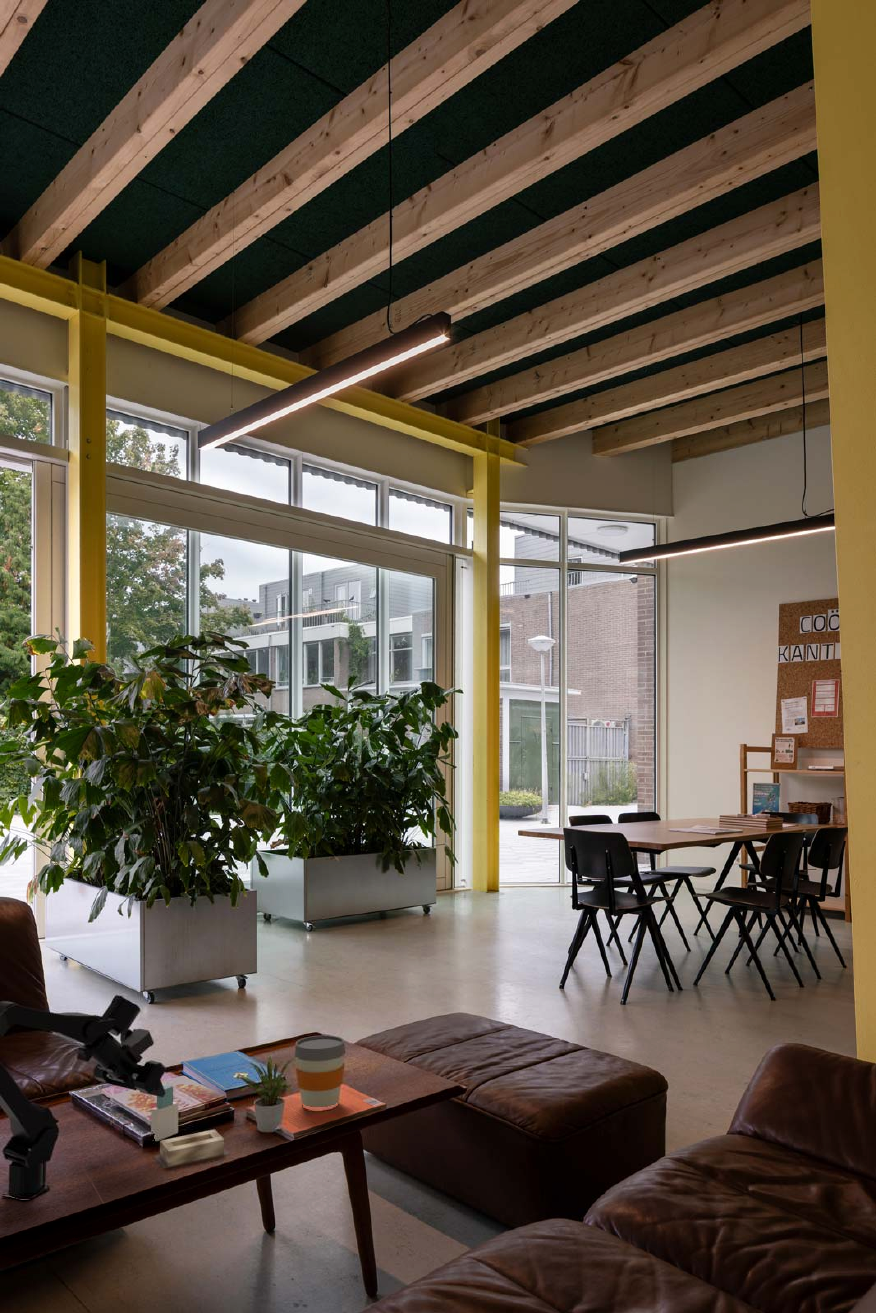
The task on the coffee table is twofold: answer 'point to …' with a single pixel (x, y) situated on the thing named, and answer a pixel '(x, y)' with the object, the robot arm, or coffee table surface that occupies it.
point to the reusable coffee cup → (320, 1069)
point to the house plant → (268, 1096)
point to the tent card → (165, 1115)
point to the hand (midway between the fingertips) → (150, 1091)
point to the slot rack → (191, 1147)
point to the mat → (186, 1162)
